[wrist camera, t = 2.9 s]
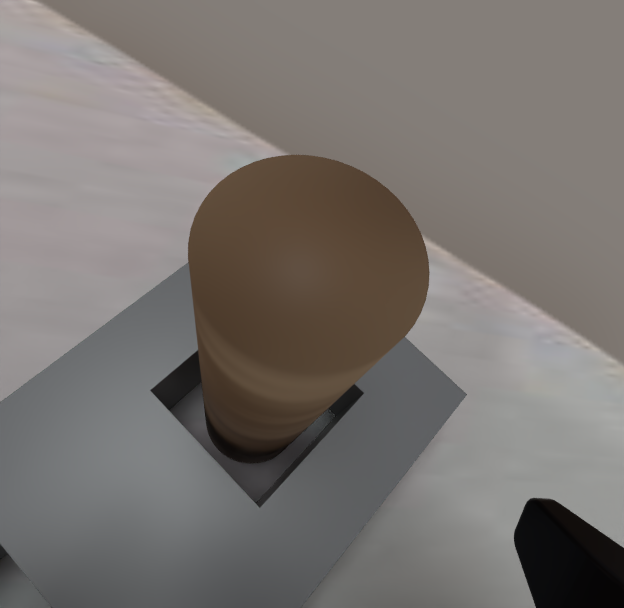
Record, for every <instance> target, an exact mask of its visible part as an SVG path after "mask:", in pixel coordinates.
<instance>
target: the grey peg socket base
mask: <svg viewBox="0 0 624 608" xmlns="http://www.w3.org/2000/svg"><path fill="white" fill-rule="evenodd" d="M201 381H202V380H201V371H200V362H199V353H198V344H197V335H196V325H195V316H194V307H193V298H192V289H191V280H190V270H189V262H188V263H187V264H186V265H184V266H183V267H182V268H180V269H179V270H177V271H176V272H175V273H173V274H172V275H171V276H169V277H168V278H167V279H165V280H164V281H163V282H161V283H160V284H159V285H157V286H156V287H155V288H153V289H152V290H151V291H149V292H148V293H147V294H145V295H144V296H142V297H141V298H140V299H138V300H137V301H136V302H134V303H133V304H132V305H130V306H129V307H128V308H126V309H125V310H124V311H122V312H121V313H120V314H118V315H117V316H116V317H114V318H113V319H112V320H110V321H109V322H107V323H106V324H105V325H103V326H102V327H101V328H99V329H98V330H97V331H95V332H94V333H93V334H91V335H90V336H89V337H87V338H86V339H85V340H83V341H82V342H81V343H79V344H78V345H77V346H75V347H74V348H72V349H71V350H70V351H68V352H67V353H66V354H64V355H63V356H62V357H60V358H59V359H58V360H56V361H55V362H54V363H52V364H51V365H50V366H48V367H47V368H46V369H44V370H43V371H42V372H40V373H39V374H37V375H36V376H35V377H33V378H32V379H31V380H29V381H28V382H27V383H25V384H24V385H23V386H21V387H20V388H19V389H17V390H16V391H15V392H13V393H12V394H11V395H9V396H8V397H7V398H5V399H4V400H2V401H1V402H0V559H1V558H2V557H3V556H5V555H6V554H7V553H8V554H9V555H10V556H11V558H12V559H13V560H14V561H15V563H16V564H17V565H18V566H19V568H20V569H21V570H22V571H23V573H24V574H25V575H26V576H27V578H28V579H29V580H30V581H31V582H32V584H33V585H34V586H35V587H36V589H37V590H38V591H39V592H40V594H41V595H42V596H43V597H44V599H45V600H46V601H47V602H48V603H49V605H50V606H51V607H52V608H301V607H302V605H303V604H304V603H305V602H306V600H307V599H308V598H309V596H310V595H311V594H312V593H313V591H314V590H315V589H316V588H317V586H318V585H319V584H320V582H321V581H322V580H323V579H324V577H325V576H326V575H327V573H328V572H329V571H330V570H331V568H332V567H333V566H334V564H335V563H336V562H337V561H338V559H339V558H340V557H341V555H342V554H343V553H344V552H345V550H346V549H347V548H348V546H349V545H350V544H351V543H352V541H353V540H354V539H355V538H356V536H357V535H358V534H359V532H360V531H361V530H362V529H363V527H364V526H365V525H366V523H367V522H368V521H369V520H370V518H371V517H372V516H373V514H374V513H375V512H376V511H377V509H378V508H379V507H380V505H381V504H382V503H383V502H384V500H385V499H386V498H387V496H388V495H389V494H390V493H391V491H392V490H393V489H394V488H395V486H396V485H397V484H398V482H399V481H400V480H401V479H402V477H403V476H404V475H405V473H406V472H407V471H408V470H409V468H410V467H411V466H412V464H413V463H414V462H415V461H416V459H417V458H418V457H419V455H420V454H421V453H422V452H423V450H424V449H425V448H426V446H427V445H428V444H429V443H430V441H431V440H432V439H433V438H434V436H435V435H436V434H437V432H438V431H439V430H440V429H441V427H442V426H443V425H444V423H445V422H446V421H447V420H448V418H449V417H450V416H451V414H452V413H453V412H454V411H455V409H456V408H457V407H458V405H459V404H460V403H461V402H462V400H463V399H464V398H465V396H466V395H467V394H466V393H465V392H464V391H463V390H462V389H460V388H459V387H458V386H457V385H456V384H455V383H454V382H453V381H452V380H451V379H450V378H449V377H448V376H446V375H445V374H444V373H443V372H442V371H441V370H440V369H439V368H438V367H437V366H436V365H435V364H433V363H432V362H431V361H430V360H429V359H428V358H427V357H426V356H425V355H424V354H423V353H422V352H421V351H419V350H418V349H417V348H416V347H415V346H414V345H413V344H412V343H411V342H410V341H409V340H408V339H406V338H405V337H404V338H403V339H402V340H401V341H400V342H398V343H397V344H396V345H395V346H394V347H393V348H392V349H391V350H390V351H389V352H388V353H387V354H386V355H385V356H383V357H382V358H381V359H380V360H379V361H378V362H377V363H376V364H375V365H374V366H373V367H372V368H371V369H370V370H369V371H367V372H366V373H365V374H364V375H363V376H362V377H361V378H360V379H359V380H358V381H357V382H356V383H355V384H354V385H352V386H351V387H350V388H349V389H348V390H347V391H346V392H345V393H344V394H343V395H342V396H341V397H340V398H339V399H337V400H336V401H335V402H334V403H333V404H332V405H331V406H330V407H329V409H330V410H331V411H332V412H333V413H334V414H335V415H336V417H335V418H334V419H333V420H332V421H331V422H330V423H329V424H328V426H327V427H326V428H325V429H324V430H323V431H322V432H321V433H320V434H319V435H318V436H317V438H316V439H315V440H314V441H313V442H312V443H311V444H310V445H309V446H308V447H307V448H306V450H305V451H304V452H303V453H302V454H301V455H300V456H299V457H298V458H297V459H296V460H295V462H294V463H293V464H292V465H291V466H290V467H289V468H288V469H287V470H286V471H285V472H284V474H283V475H282V476H281V477H280V478H279V479H278V480H277V481H276V482H275V483H274V484H273V485H272V487H271V488H270V489H269V490H268V491H267V492H266V493H265V494H264V495H263V496H262V497H261V499H260V500H259V501H258V502H257V503H255V502H254V501H253V500H252V499H251V498H250V497H249V496H248V495H247V494H246V493H245V492H244V490H243V489H242V488H241V487H240V486H239V485H238V484H237V483H236V482H235V481H234V480H233V479H232V478H231V477H230V476H229V474H228V473H227V472H226V471H225V470H224V469H223V468H222V467H221V466H220V465H219V464H218V463H217V462H216V461H215V459H214V458H213V457H212V456H211V455H210V454H209V453H208V452H207V451H206V450H205V449H204V448H203V447H202V446H201V444H200V443H199V442H198V441H197V440H196V439H195V438H194V437H193V436H192V435H191V434H190V433H189V432H188V431H187V429H186V428H185V427H184V426H183V425H182V424H181V423H180V422H179V421H178V420H177V419H176V418H175V417H174V416H173V415H172V413H171V412H170V411H169V409H170V408H172V407H173V406H174V405H175V404H176V403H177V402H178V401H179V400H181V399H182V398H183V397H184V396H185V395H186V394H187V393H188V392H190V391H191V390H192V389H193V388H194V387H195V386H196V385H197V384H199V383H200V382H201Z"/></svg>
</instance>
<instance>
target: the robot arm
mask: <svg viewBox="0 0 624 608" xmlns="http://www.w3.org/2000/svg"><path fill="white" fill-rule="evenodd" d="M514 543H515V547H516V550H517V553H518V556H519V559H520V562H521V565H522V568H523V571H524V574H525V577H526V580H527V583H528V586H529V589H530V591H531V594H532V597H533V600H534V603H535V606H536V608H624V548H623V547H622V546H620V545H619V544H617V543H616V542H614V541H613V540H612V539H610V538H609V537H607V536H606V535H604V534H603V533H601V532H600V531H598V530H597V529H596V528H594V527H593V526H591V525H590V524H588V523H587V522H585V521H584V520H583V519H581V518H580V517H578V516H577V515H575V514H574V513H572V512H571V511H570V510H568V509H567V508H565V507H564V506H562V505H561V504H559V503H558V502H556V501H555V500H552V499H545V498H531V499H530V500H528V501H527V503H526V505H525V507H524V509H523V512H522V514H521V517H520V519H519V522H518V524H517V526H516V529H515V532H514Z"/></svg>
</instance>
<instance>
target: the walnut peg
mask: <svg viewBox="0 0 624 608" xmlns="http://www.w3.org/2000/svg"><path fill="white" fill-rule="evenodd" d="M188 261H189V270H190V280H191V289H192V298H193V307H194V316H195V325H196V335H197V344H198V353H199V362H200V371H201V380H202V390H203V399H204V408H205V417H206V425H207V430H208V433H209V436H210V438H211V440H212V442H213V443H214V445H215V446H216V447H217V448H218V450H220V451H221V452H222V453H223V454H224V455H226V456H227V457H229V458H231V459H233V460H235V461H238V462H243V463H260V462H264V461H267V460H269V459H271V458H273V457H275V456H277V455H278V454H279V453H281V452H282V451H283V450H284V449H285V448H286V447H287V446H288V445H289V444H290V443H291V442H293V441H294V440H295V439H296V438H297V437H298V436H299V435H300V434H301V433H302V432H303V431H304V430H305V429H306V428H308V427H309V426H310V425H311V424H312V423H313V422H314V421H315V420H316V419H317V418H318V417H319V416H320V415H321V414H323V413H324V412H325V411H326V410H327V409H328V408H329V407H330V406H331V405H332V404H333V403H334V402H335V401H336V400H337V399H339V398H340V397H341V396H342V395H343V394H344V393H345V392H346V391H347V390H348V389H349V388H350V387H351V386H352V385H354V384H355V383H356V382H357V381H358V380H359V379H360V378H361V377H362V376H363V375H364V374H365V373H366V372H367V371H369V370H370V369H371V368H372V367H373V366H374V365H375V364H376V363H377V362H378V361H379V360H380V359H381V358H382V357H383V356H385V355H386V354H387V353H388V352H389V351H390V350H391V349H392V348H393V347H394V346H395V345H396V344H397V343H398V342H400V341H401V340H402V339H403V338H404V337H405V336H406V334H407V333H408V332H409V331H410V329H411V328H412V327H413V326H414V324H415V322H416V320H417V319H418V317H419V315H420V313H421V311H422V308H423V306H424V303H425V300H426V296H427V291H428V286H429V262H428V256H427V251H426V247H425V244H424V241H423V238H422V235H421V233H420V231H419V229H418V227H417V225H416V223H415V221H414V219H413V218H412V216H411V215H410V213H409V212H408V210H407V209H406V208H405V207H404V205H403V204H402V203H401V202H400V201H399V199H398V198H397V197H396V196H395V195H394V194H393V193H391V192H390V191H389V190H388V189H387V188H386V187H385V186H383V185H382V184H381V183H380V182H378V181H377V180H375V179H374V178H372V177H370V176H369V175H367V174H366V173H364V172H362V171H360V170H358V169H356V168H354V167H352V166H349V165H346V164H344V163H341V162H339V161H335V160H331V159H327V158H323V157H315V156H308V155H285V156H277V157H271V158H266V159H263V160H260V161H256V162H253V163H251V164H249V165H246V166H244V167H242V168H240V169H238V170H236V171H235V172H233V173H231V174H230V175H228V176H227V177H226V178H225V179H223V180H222V181H221V182H219V183H218V184H217V185H216V186H215V187H214V189H213V190H212V191H211V192H210V193H209V194H208V195H207V197H206V198H205V200H204V201H203V202H202V204H201V206H200V208H199V210H198V212H197V213H196V215H195V218H194V221H193V224H192V227H191V231H190V237H189V243H188Z"/></svg>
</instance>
